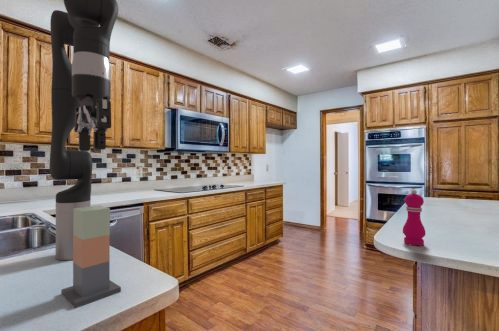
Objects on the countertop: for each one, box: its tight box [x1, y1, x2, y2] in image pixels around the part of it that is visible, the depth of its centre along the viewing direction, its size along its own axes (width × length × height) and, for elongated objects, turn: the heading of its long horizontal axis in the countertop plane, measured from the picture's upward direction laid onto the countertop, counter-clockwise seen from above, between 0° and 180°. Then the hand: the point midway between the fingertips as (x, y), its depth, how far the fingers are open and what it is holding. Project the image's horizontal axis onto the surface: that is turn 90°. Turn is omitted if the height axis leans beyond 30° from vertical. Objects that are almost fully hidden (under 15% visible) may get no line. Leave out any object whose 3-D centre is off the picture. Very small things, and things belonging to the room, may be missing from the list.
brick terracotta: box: [72, 235, 111, 268], centre depth 60 cm, size 6×6×6 cm
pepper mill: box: [402, 189, 426, 246], centre depth 98 cm, size 7×7×20 cm
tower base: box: [60, 261, 122, 309], centre depth 60 cm, size 9×9×7 cm
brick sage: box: [73, 205, 111, 240], centre depth 60 cm, size 6×6×6 cm
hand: (91, 150), depth 60 cm, fingers open, 8 cm apart
